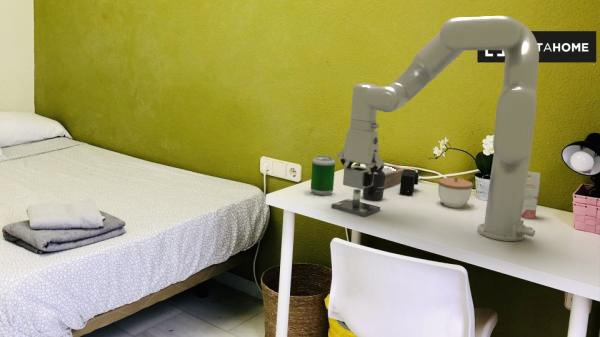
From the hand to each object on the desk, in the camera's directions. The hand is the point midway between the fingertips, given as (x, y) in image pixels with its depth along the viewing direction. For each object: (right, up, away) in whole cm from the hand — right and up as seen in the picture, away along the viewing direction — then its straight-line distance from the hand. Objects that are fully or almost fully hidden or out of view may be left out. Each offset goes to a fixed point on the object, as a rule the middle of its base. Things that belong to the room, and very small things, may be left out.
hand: (358, 182), depth 183 cm
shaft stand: (-1, -8, +2) cm, 8 cm away
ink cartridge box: (+52, -11, +6) cm, 53 cm away
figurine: (+13, -1, +35) cm, 38 cm away
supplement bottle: (+6, -6, +15) cm, 18 cm away
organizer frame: (+11, -1, +34) cm, 36 cm away
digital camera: (+20, -4, +26) cm, 33 cm away
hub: (0, -1, 0) cm, 1 cm away
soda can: (-10, -4, +18) cm, 21 cm away
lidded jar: (+32, -8, +13) cm, 36 cm away
